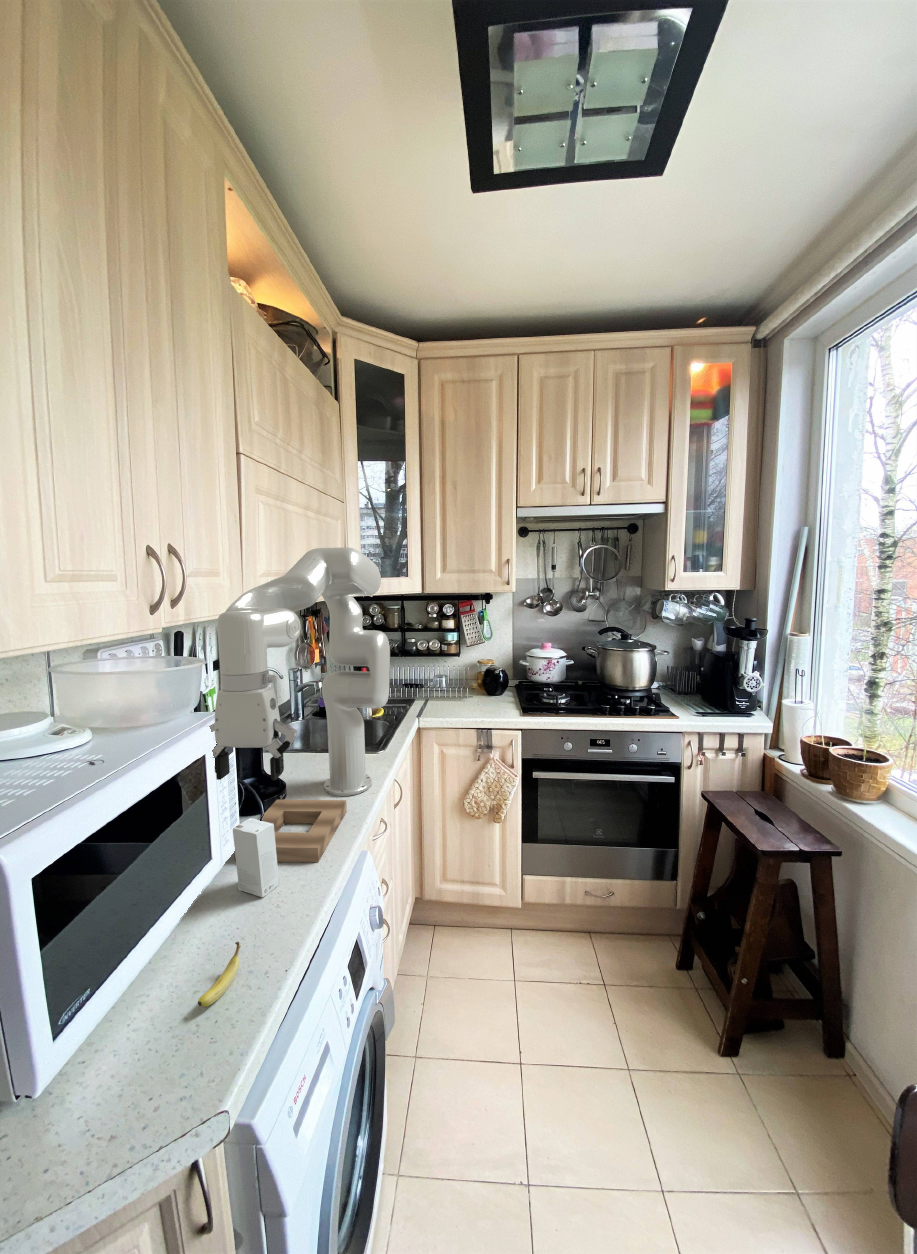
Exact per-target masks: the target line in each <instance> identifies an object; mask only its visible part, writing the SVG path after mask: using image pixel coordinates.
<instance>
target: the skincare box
mask: <svg viewBox="0 0 917 1254" xmlns="http://www.w3.org/2000/svg"><path fill="white" fill-rule="evenodd" d="M232 836H233V837H232V838H233V845H234V846H233V847H235V851H234V857H235V856H236V861H235V866H236V873H237V883H238V890H239V891H242V892H245V893H248V894H251V895H253V896H257V897H260V898H264V897H266V896H267V895H268V894H270V893H271V892H273V891H274V890H275V889H276V888H277V887H278V886H279V884H280V881H279V880H280V878H279V868H278V866H279V865H278V861H277V855H276V844H275V834H274V824H272V823H268V822H264V821H260V820H259V819H255V818H251V817H249V818H248V819H246V820H245V821H243V822H241V823H239V824H238V825H236V826H234V827H233V828H232Z"/></svg>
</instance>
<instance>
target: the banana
mask: <svg viewBox="0 0 917 1254" xmlns="http://www.w3.org/2000/svg"><path fill="white" fill-rule="evenodd" d="M241 944H242V943H241V942H240V941H237V942H235V945H236V948H235V952H234V954H233V955H232V958H230V960H229V962H228V963H227V965H226V967H225V969H224V970H223V972H222V974H221V975H220V976H219V977H218V979H217V980H216V981H215V982H214V984H212V986H211V987H210V988H209V989H208V990H207V991H206V992H205V993H203V994H202V995H201V996H200V997H199V998H198V1000H197V1004H198V1006H200V1007H203V1008H204V1007H208V1006H211V1005H212V1004H214V1003H215V1002H216V1001H218V1000H219V999H220V998H221V997H222V995H224V993H226V991H227V990H228V988H229V987H230V986H231V984H232V983H233V980H234V979H235V978H236V975H237V973H238V971H239V967H240V958H239V952H240V950H241V946H242V945H241Z"/></svg>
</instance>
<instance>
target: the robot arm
mask: <svg viewBox="0 0 917 1254" xmlns="http://www.w3.org/2000/svg"><path fill="white" fill-rule="evenodd" d="M381 583H382V577H381V573H380V569H379V567H378V566H377V564H376V563H375V562H374V561H372V560H371V559H370V558H369V557H368V556H366V554H364V553H363V552H361V551H359V549H356V548H355V549H354V548H353V547H347V546H346V547H316V548H312V549H310V550H308V551H306V552H305V554H303V555H302V557H300V559H299V560H298V561H297V562H296V563H295V564H294V565H293V566H292V567H291V568H290V569H289V570H288V571H287V572H286V573H285V574H284V575H282V576H279V577H277V578H274V579H271V580H270V581H269V580H268V581H267V582H265V583H263V584H260V585H258V586H256V587H252V588H251V589H249V590H247V591H246V592H244V593H243V594H241V595H240V596H239V597H238V598H236V600H234V601H233V602H232V603H231V604H230V605H229V606H228V607H227V608H226V610H225V611H224V612H222V613H221V614H219V615H218V617H217V623H216V624H217V639H218V641H217V642H218V658H219V659H218V660H219V675H220V690H218V691H217V696H216V701H215V709H214V710H215V711H214V723H212V724H210V725H208V726H209V727H210V729H211V732H212V733H213V732H214V740H215V741H216V743H217V744H216V746H215V747H214V749H213V750H212V752H213V756H214V757H212V758H213V759H214V758H215V766H214V773H215V775H216V781H217V780H218V781H219V780H222V779H223V778H225V777H226V776H228V775H229V774H230V771H231V770H230V769H231V768H230V755H229V751H226V750H227V749H228V748H238V749H239V748H242V749H243V748H245V749H247V748H250V749H252V748H253V749H254V748H256V749H257V748H259V749H260V748H265V749H266V750H267V751H268V752H269V753H270V755H272V757H271V758H270V759H269V769H270V779H271V780H272V781H276V780H277V779H278V778H279V777H281V776H282V773H284V770H285V763H284V762H285V761H284V753H285V752H286V751H287V750H288V749H290V747H291V746H292V745H293V742H294V741H295V738H296V737H297V734H298V730H297V729H296V728H294V727H292V726H289V725H287V724H285V723H284V722H282V721H281V718H280V717H281V716H280V710H279V704H278V700H277V695H276V691H275V689H274V687H273V686H269V685H270V684H275V683H276V675H275V674H274V675H273V674H271V673H270V671H269V669H268V652H267V651H268V650H267V649H270V648H271V649H272V648H276V649H277V648H285V647H289V646H290V645H293V643H294V642H296V641H297V640H298V638H299V636H300V634H301V628H302V624H301V620H300V618H299V616H298V615H297V613H296V612H299V611H301V610H304V609H307V608H310V607H312V606H313V605H315V603H317V601H318V600H319V599H320V597H322V598H323V600H324V602H325V604H326V605H327V608H328V612H329V634H328V635H329V636H328V637H329V640H328V641H329V643H328V650H329V651H328V652H329V653H328V654H329V659H330V661H331V662H332V663H334V664H335V665H336V666H344V667H345V666H346V667H347V666H348V667H368V669H369V671H367V670H366V671H361V670H360V671H359V670H338V671H336V670H335V671H333V672H330V673H329V674H327V675H326V676H325V677H324V679H323V680H322V684H321V694H322V699H323V701H324V702H323V703H324V707H325V711H326V722H327V744H328V746H327V747H328V762H329V763H328V766H329V767H328V768H329V778H327V779H326V781H325V782H324V784H323V789H324V792H325V793H327V794H329V795H332V796H336V797H337V796H338V797H345V796H346V797H349V796H354V795H358V794H361V793H364V792H366V791H367V790H369V789H370V787H371V786H373V785H372V784H373V782H372V781H373V779H372V777H371V776H370V775H368V774H366V771H367V770H366V769H367V768H366V744H365V739H366V738H365V721H364V718H363V716H362V714H361V712H360V711H359V709H379V708H380V709H381V708H383V707H385V705H386V704H387V703H388V699H389V695H390V680H391V679H390V678H391V677H390V672H391V670H390V669H391V668H390V667H391V665H390V664H391V648H390V647H391V646H390V642H389V638H388V636H387V634H386V633H384V632H383V631H381V630H375V629H373V630H372V629H371V630H368V629H364V628H363V609H362V608H361V606H360V604H359V602H357V600H356V599H355V598H354V596H355V597H356V596H357V597H358V596H359V597H360V596H363V597H365V596H369V597H370V596H373V595H375V594H376V593H377V592H378V591H379V589H380V587H381ZM282 735H284V736H285V737H284V741H283V742H281V740H279V739H280V738H281V736H282Z"/></svg>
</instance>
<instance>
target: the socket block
mask: <svg viewBox="0 0 917 1254" xmlns="http://www.w3.org/2000/svg"><path fill="white" fill-rule="evenodd" d="M347 812H348V810H347V800H346V799H276V800H275V801H273V803H272V804H271V805H270V807H269V808H268V809H267V810H266V811H265V812H264V813H263V814H264V816H263V815H262V816H263V820H262V821H264V822H268V823H272V824H274V834H275V844H276V855H277V863H278V862H282V863H285V862H289V863H290V862H291V863H298V862H299V863H319V862H320V861H321V859H322V857H323V855H324V854H325V851H326V850H327V849H328V846H329V844H330V842H331V840H332V839H333V837H334V836H335V833H336V832H337V830H338V828H339V826H340V825H341V823H342V821H343V819H344V818H345V816H346V814H347ZM258 820H260V818H259V819H258ZM298 823H299V824H298ZM301 823H302V824H304V825H305V824H306V825H307V824H308V823H309V824H308V825H310V823H311V825H312V826H311V827H310V829H309V831H308V832H301V831H299V832H298V831H297V832H292V831H291V832H289V831H288V832H287V831H286V832H285V831H284V832H283V831H280V830H281V828H282V827H283V826H284V824H298V825H300V824H301ZM302 824H301V825H302ZM279 831H280V832H279ZM234 860H235V862H236V856H235V855H234Z"/></svg>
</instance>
